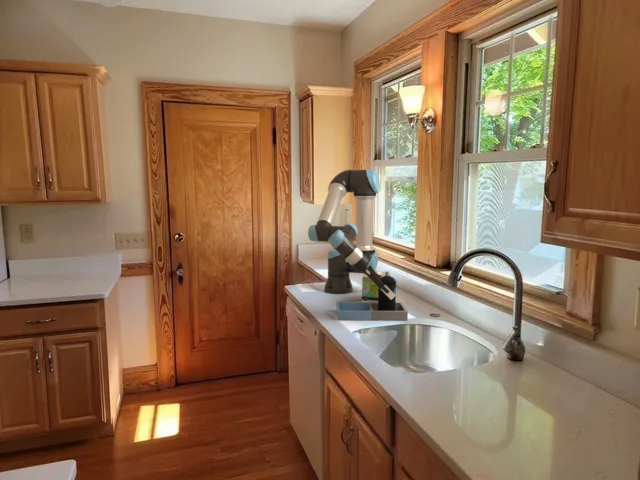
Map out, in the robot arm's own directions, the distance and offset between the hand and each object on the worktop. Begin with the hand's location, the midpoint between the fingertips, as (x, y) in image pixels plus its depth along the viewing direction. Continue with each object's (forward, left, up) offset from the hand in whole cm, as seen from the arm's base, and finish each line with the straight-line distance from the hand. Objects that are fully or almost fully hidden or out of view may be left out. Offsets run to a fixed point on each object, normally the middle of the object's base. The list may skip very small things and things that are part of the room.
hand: (391, 293), depth 191 cm
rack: (0, -9, -10) cm, 13 cm away
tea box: (-19, -6, -10) cm, 23 cm away
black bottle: (0, -2, -10) cm, 11 cm away
